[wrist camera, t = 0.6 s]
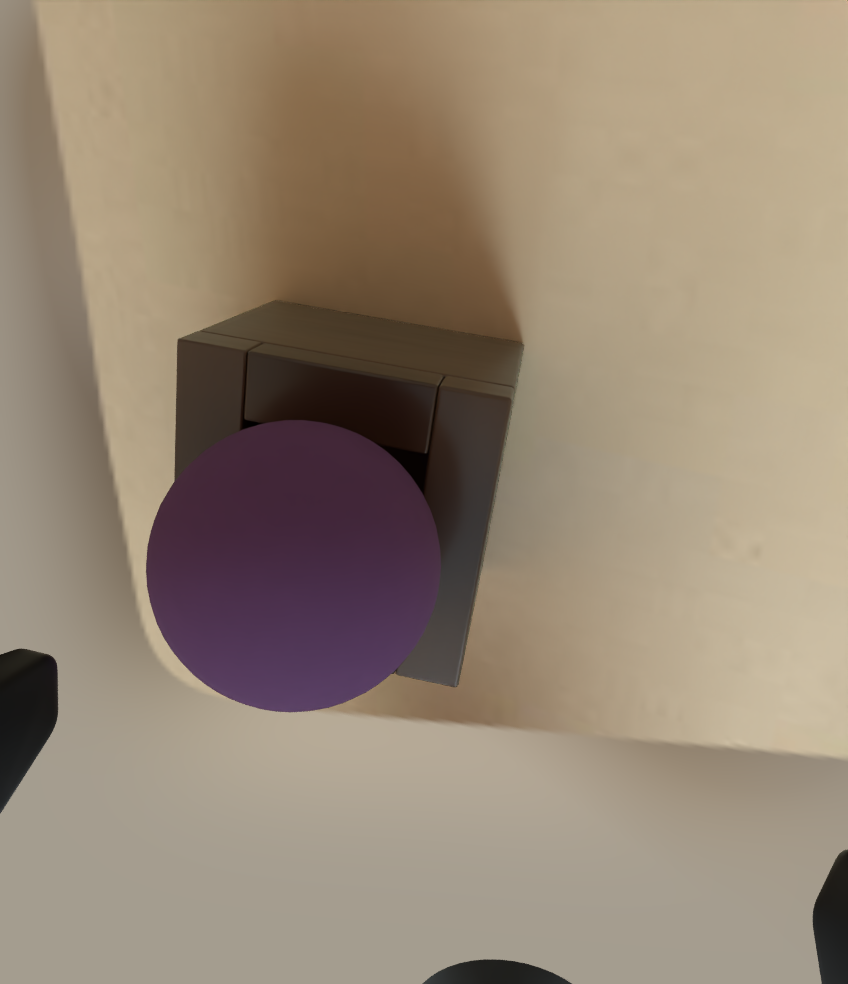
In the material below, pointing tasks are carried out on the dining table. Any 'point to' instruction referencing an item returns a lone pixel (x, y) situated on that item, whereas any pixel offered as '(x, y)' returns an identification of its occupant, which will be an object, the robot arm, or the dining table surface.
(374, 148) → the dining table surface
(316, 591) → the ball
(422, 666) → the stand
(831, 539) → the dining table surface
